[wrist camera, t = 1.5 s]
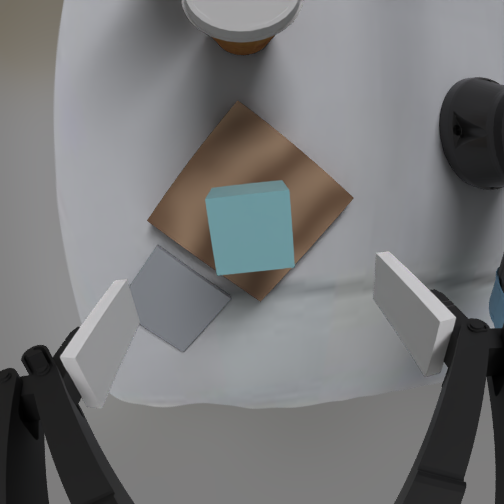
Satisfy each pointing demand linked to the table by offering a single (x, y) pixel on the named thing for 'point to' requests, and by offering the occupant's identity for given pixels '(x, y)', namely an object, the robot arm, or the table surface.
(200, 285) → the mat
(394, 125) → the table surface
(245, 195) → the teal matte cube
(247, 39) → the disposable coffee cup
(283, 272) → the brown square board
